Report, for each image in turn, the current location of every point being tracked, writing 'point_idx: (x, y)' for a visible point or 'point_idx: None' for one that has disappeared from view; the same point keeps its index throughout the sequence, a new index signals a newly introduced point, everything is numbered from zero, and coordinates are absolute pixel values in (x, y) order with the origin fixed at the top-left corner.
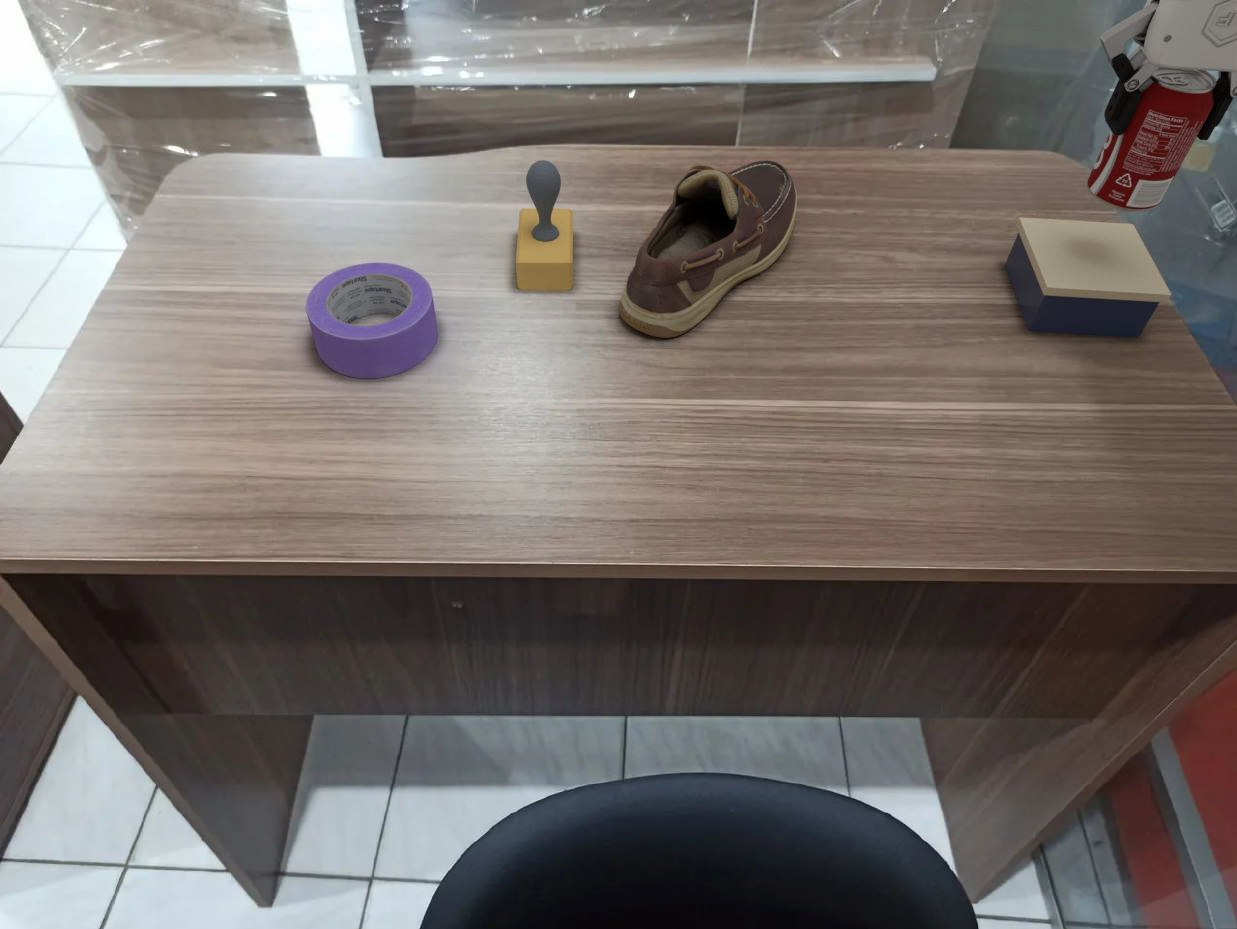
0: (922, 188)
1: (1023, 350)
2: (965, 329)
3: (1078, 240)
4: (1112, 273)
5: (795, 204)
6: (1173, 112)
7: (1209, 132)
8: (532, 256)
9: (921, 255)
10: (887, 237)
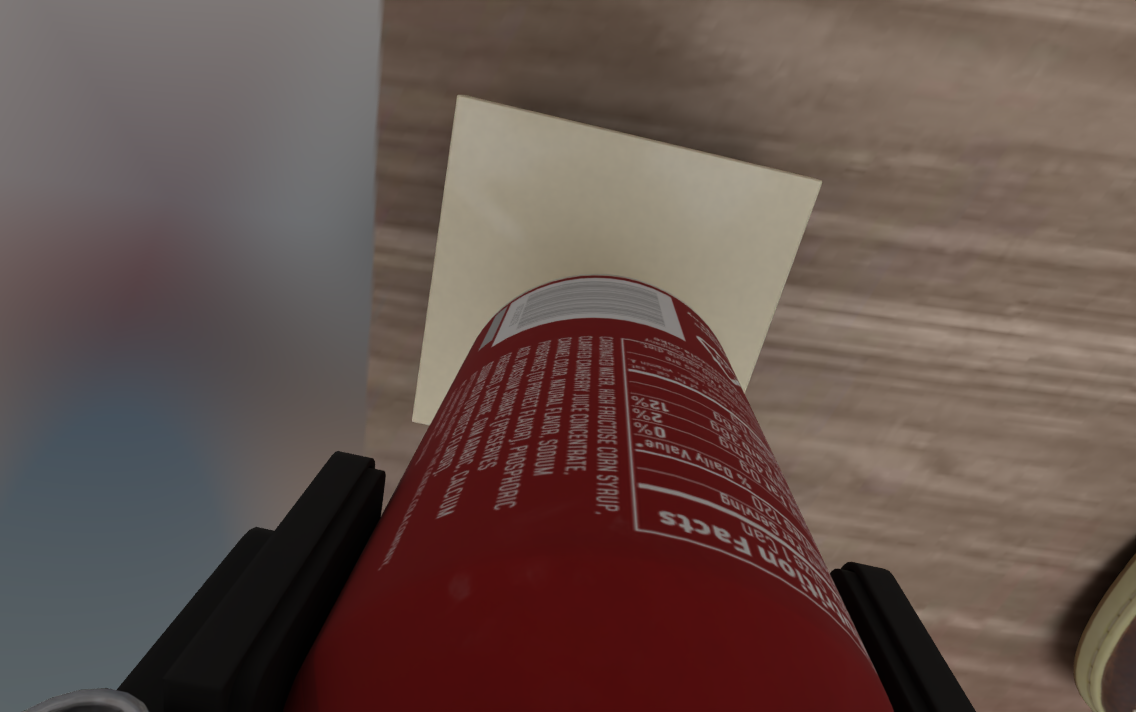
0: None
1: (813, 104)
2: (911, 203)
3: None
4: (587, 218)
5: (1120, 633)
6: (775, 597)
7: (334, 477)
8: None
9: (853, 465)
10: (892, 530)
